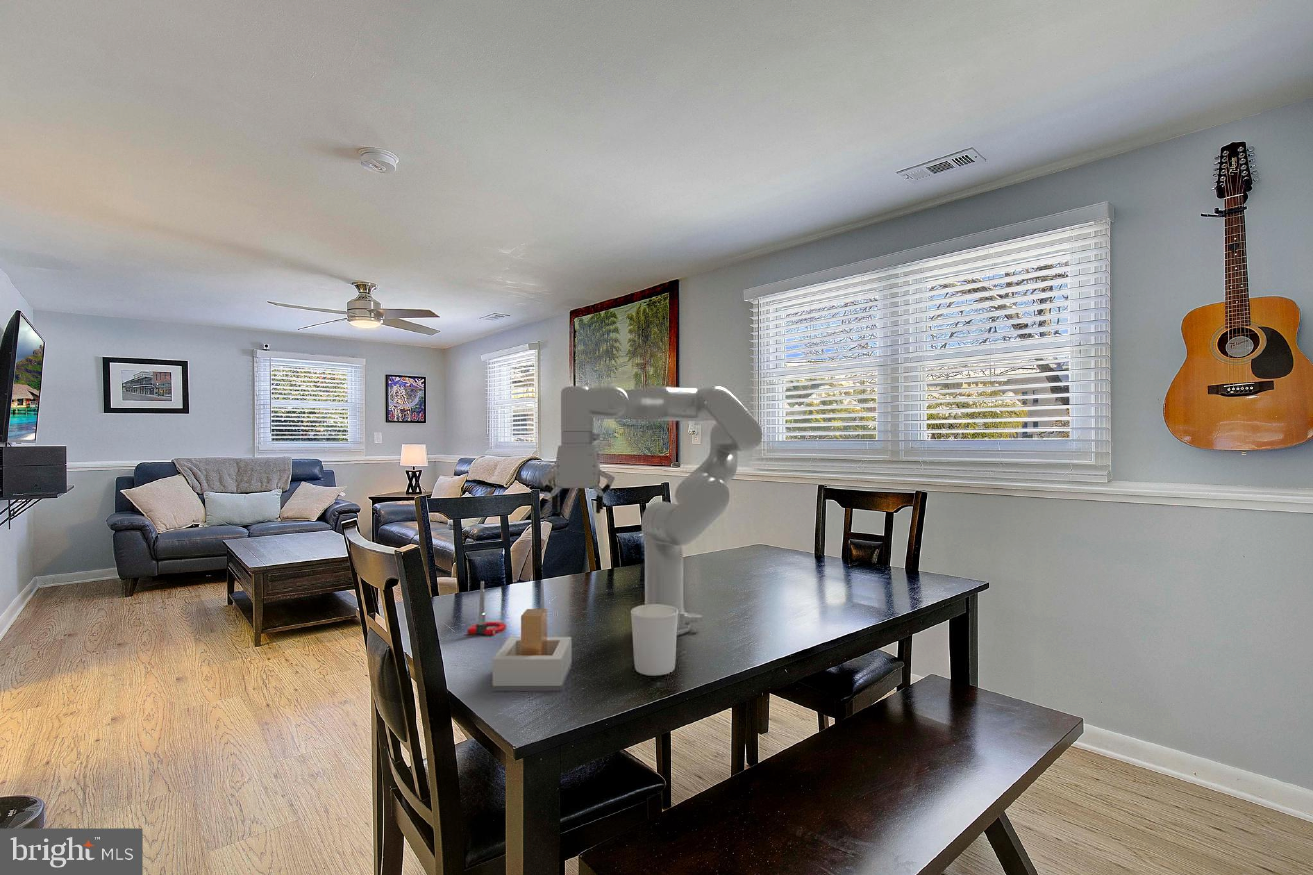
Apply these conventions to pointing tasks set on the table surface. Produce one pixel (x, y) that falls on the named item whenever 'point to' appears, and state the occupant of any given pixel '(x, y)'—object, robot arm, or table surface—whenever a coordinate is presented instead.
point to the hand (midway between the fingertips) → (577, 512)
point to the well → (532, 666)
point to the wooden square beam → (534, 632)
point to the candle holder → (654, 638)
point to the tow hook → (482, 625)
